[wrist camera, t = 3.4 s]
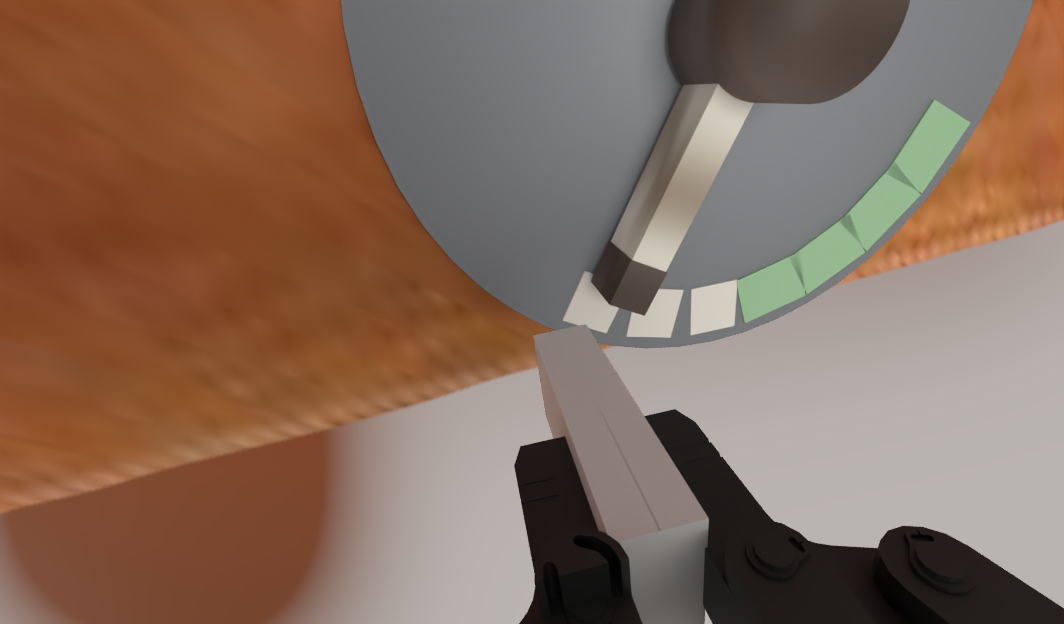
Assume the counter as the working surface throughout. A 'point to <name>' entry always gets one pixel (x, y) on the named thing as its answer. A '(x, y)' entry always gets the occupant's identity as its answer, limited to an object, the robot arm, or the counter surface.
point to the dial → (629, 139)
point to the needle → (733, 110)
